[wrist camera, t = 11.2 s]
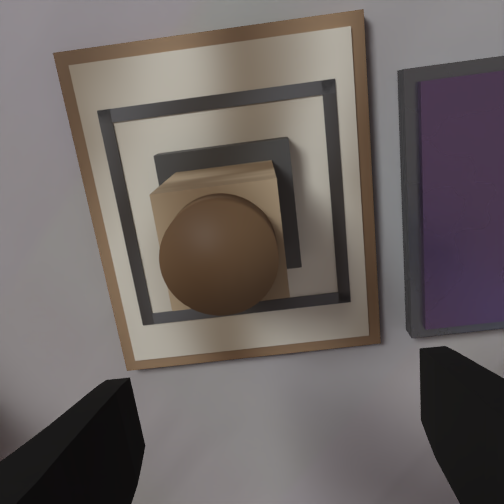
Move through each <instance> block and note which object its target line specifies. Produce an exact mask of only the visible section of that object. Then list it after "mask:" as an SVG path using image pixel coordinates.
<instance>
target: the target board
mask: <svg viewBox="0 0 504 504" xmlns="http://www.w3.org/2000/svg"><path fill="white" fill-rule="evenodd" d="M53 55H54V59H55V64H56V68H57V72H58V77H59V81H60V85H61V89H62V94H63V98H64V102H65V107H66V111H67V115H68V119H69V124H70V128H71V132H72V137H73V141H74V145H75V149H76V154H77V158H78V162H79V167H80V171H81V175H82V179H83V184H84V188H85V192H86V197H87V201H88V205H89V209H90V214H91V218H92V222H93V227H94V231H95V235H96V239H97V244H98V248H99V252H100V257H101V261H102V265H103V269H104V274H105V278H106V282H107V287H108V291H109V295H110V299H111V304H112V308H113V312H114V317H115V321H116V325H117V329H118V334H119V338H120V342H121V347H122V351H123V355H124V359H125V364H126V368H127V371H130V370H139V369H148V368H157V367H167V366H176V365H185V364H194V363H204V362H213V361H222V360H231V359H241V358H250V357H259V356H268V355H278V354H287V353H296V352H305V351H315V350H324V349H333V348H342V347H352V346H361V345H370V344H379V343H381V340H380V321H379V301H378V282H377V262H376V243H375V223H374V204H373V185H372V165H371V146H370V126H369V107H368V88H367V68H366V49H365V29H364V10H363V9H362V10H355V11H348V12H341V13H334V14H327V15H319V16H312V17H305V18H298V19H291V20H284V21H277V22H270V23H263V24H256V25H248V26H241V27H234V28H227V29H220V30H213V31H206V32H199V33H192V34H185V35H177V36H170V37H163V38H156V39H149V40H142V41H135V42H128V43H121V44H114V45H106V46H99V47H92V48H85V49H78V50H71V51H64V52H57V53H53ZM279 137H288V138H289V147H290V157H291V166H292V176H293V186H294V196H295V205H296V215H297V225H298V234H299V244H300V254H301V263H302V267H300V268H292V269H287V275H288V283H289V292H290V298H282V299H273V300H265V301H260V302H258V303H257V304H256V305H254V306H253V307H251V308H249V309H247V310H245V311H243V312H240V313H237V314H232V315H224V316H217V315H209V314H204V313H201V312H198V311H195V310H193V309H186V310H178V311H172V308H171V303H170V298H169V293H168V288H167V285H166V283H165V282H164V279H163V277H162V274H161V270H160V265H159V250H160V247H159V242H158V236H157V231H156V226H155V221H154V216H153V211H152V206H151V201H150V194H151V193H152V192H153V191H154V190H155V189H157V188H158V187H159V183H158V178H157V172H156V167H155V162H154V155H156V154H158V153H165V152H172V151H180V150H188V149H195V148H203V147H210V146H218V145H226V144H233V143H241V142H249V141H256V140H264V139H271V138H279Z"/></svg>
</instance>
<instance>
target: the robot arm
mask: <svg viewBox="0 0 504 504" xmlns="http://www.w3.org/2000/svg"><path fill="white" fill-rule="evenodd" d="M420 394H421V421H422V424H423V427H424V429H425V432H426V435H427V437H428V440H429V443H430V445H431V448H432V450H433V453H434V455H435V458H436V460H437V462H438V463H439V465H440V467H441V469H442V471H443V473H444V475H445V477H446V478H447V480H448V482H449V484H450V486H451V488H452V490H453V492H454V493H455V495H456V497H457V499H458V501H459V503H460V504H504V378H502V377H500V376H498V375H497V374H495V373H493V372H491V371H490V370H488V369H486V368H484V367H482V366H481V365H479V364H477V363H476V362H474V361H472V360H470V359H469V358H467V357H465V356H463V355H461V354H460V353H458V352H456V351H454V350H452V349H450V348H448V347H446V346H441V347H431V348H421V349H420ZM144 449H145V443H144V438H143V434H142V429H141V425H140V421H139V416H138V412H137V407H136V403H135V398H134V394H133V389H132V385H131V381H130V378H122V379H112V380H106V381H104V382H103V383H101V384H100V385H98V386H97V387H96V388H94V389H93V390H92V391H91V392H89V393H88V394H87V395H86V396H84V397H83V398H82V399H81V400H80V401H78V402H77V403H76V404H75V405H73V406H72V407H71V408H70V409H69V410H67V411H66V412H65V413H64V414H62V415H61V416H60V417H59V418H58V419H56V420H55V421H54V422H53V423H51V424H50V425H49V426H48V427H46V428H45V429H44V430H42V431H41V432H40V433H38V434H37V435H36V436H34V437H33V438H32V439H30V440H29V441H28V442H26V443H25V444H24V445H22V446H21V447H20V448H18V449H17V450H16V451H14V452H13V453H12V454H10V455H9V456H8V457H6V458H5V459H3V460H2V461H0V504H131V503H132V500H133V497H134V494H135V491H136V488H137V485H138V480H139V475H140V471H141V466H142V460H143V455H144Z"/></svg>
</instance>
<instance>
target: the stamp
mask: <svg viewBox="0 0 504 504" xmlns="http://www.w3.org/2000/svg"><path fill="white" fill-rule="evenodd" d="M154 162H155V167H156V172H157V178H158V183H159V187H158V188H157V189H155V190H154V191H153V192H152V193H151V194H150V201H151V206H152V211H153V216H154V221H155V226H156V231H157V236H158V242H159V247H160V250H159V265H160V270H161V274H162V277H163V279H164V282H165V283H166V285H167V288H168V293H169V298H170V303H171V308H172V311H178V310H186V309H193V310H195V311H198V312H201V313H204V314H209V315H217V316H224V315H232V314H237V313H240V312H243V311H245V310H247V309H249V308H251V307H253V306H254V305H256V304H257V303H258V302H260V301H265V300H273V299H282V298H290V292H289V283H288V275H287V269H292V268H300V267H302V263H301V254H300V244H299V234H298V225H297V215H296V205H295V196H294V186H293V176H292V166H291V157H290V147H289V138H288V137H279V138H271V139H264V140H256V141H249V142H241V143H233V144H226V145H218V146H210V147H203V148H195V149H188V150H180V151H172V152H165V153H158V154H156V155H154Z"/></svg>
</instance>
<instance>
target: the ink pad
mask: <svg viewBox="0 0 504 504" xmlns="http://www.w3.org/2000/svg"><path fill="white" fill-rule="evenodd" d="M398 101H399V131H400V161H401V190H402V220H403V250H404V280H405V310H406V330H407V332H408V333H409V335H410V336H411V338H418V337H428V336H437V335H446V334H455V333H465V332H474V331H483V330H492V329H501V328H504V56H499V57H492V58H484V59H477V60H469V61H462V62H455V63H447V64H440V65H432V66H425V67H417V68H410V69H403V70H399V71H398Z"/></svg>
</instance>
